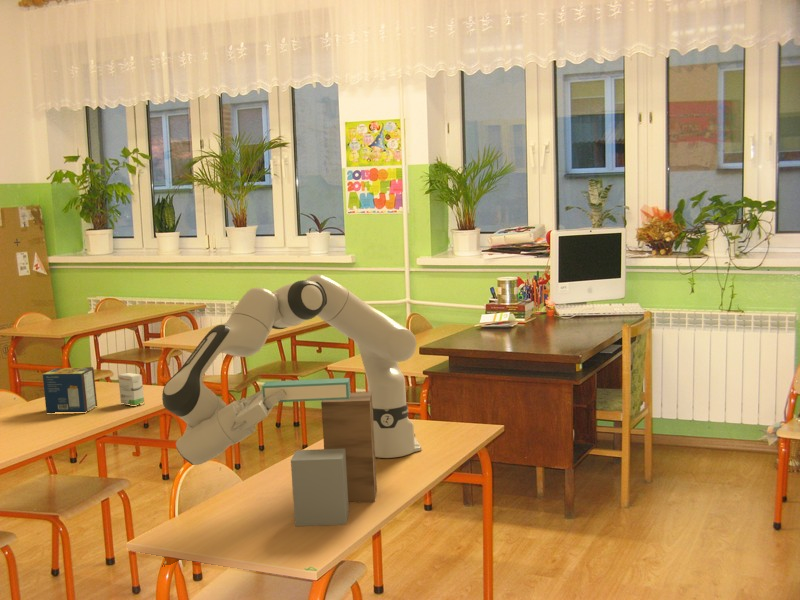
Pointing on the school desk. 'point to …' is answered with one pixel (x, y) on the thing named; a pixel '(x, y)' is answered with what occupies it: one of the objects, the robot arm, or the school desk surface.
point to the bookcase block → (353, 441)
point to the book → (309, 389)
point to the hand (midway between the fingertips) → (286, 389)
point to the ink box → (131, 388)
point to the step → (320, 487)
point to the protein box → (69, 390)
